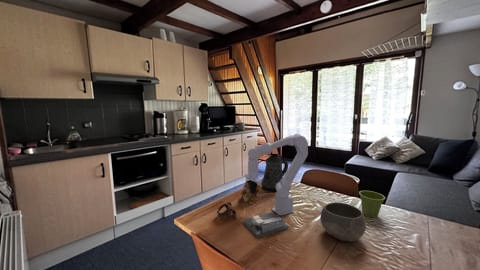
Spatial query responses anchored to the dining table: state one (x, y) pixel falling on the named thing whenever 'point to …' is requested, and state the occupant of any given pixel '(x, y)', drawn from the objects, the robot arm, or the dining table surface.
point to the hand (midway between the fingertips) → (252, 193)
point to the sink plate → (266, 228)
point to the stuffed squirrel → (249, 194)
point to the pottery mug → (228, 210)
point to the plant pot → (371, 203)
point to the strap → (269, 221)
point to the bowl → (343, 221)
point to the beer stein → (273, 172)
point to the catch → (257, 220)
